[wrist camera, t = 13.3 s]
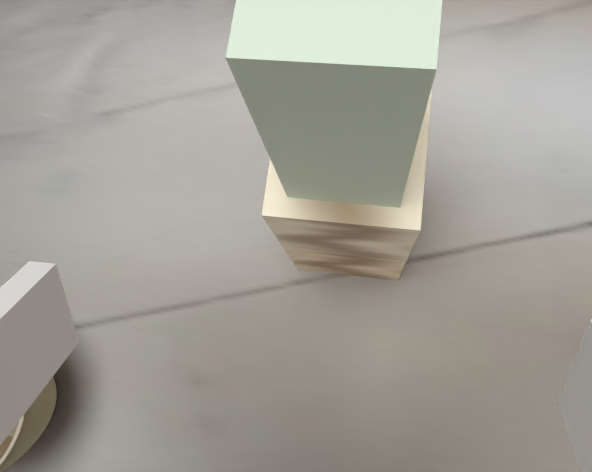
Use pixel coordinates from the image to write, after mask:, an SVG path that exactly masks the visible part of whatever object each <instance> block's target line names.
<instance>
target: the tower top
mask: <svg viewBox="0 0 592 472" xmlns="http://www.w3.org/2000/svg"><path fill="white" fill-rule="evenodd" d="M431 93H432V88H431V92H430V96H429V99H428V103H427V107H426V111H425V115H424V119H423V122H422V126H421V130H420V134H419V138H418V141H417V145H416V149H415V153H414V157H413V160H412V164H411V168H410V172H409V176H408V179H407V183H406V187H405V191H404V195H403V199H402V202H401V206H400V208H395V207H384V206H374V205H363V204H353V203H342V202H332V201H321V200H311V199H300V198H290V197H287V195H286V193H285V191H284V188H283V186H282V184H281V182H280V179H279V177H278V175H277V173H276V170H275V168H274V166H273V164H272V161H271V159H270V163H269V170H268V176H267V183H266V190H265V196H264V203H263V209H262V217H263V218H264V220H265V221H266V223H267V224H268V226H269V227H270V228H271V230H272V231H273V233H274V234H275V236H276V237H277V239H278V240H279V242H280V243H281V245H282V246H283V247H284V249H294V250H304V251H313V252H323V253H332V254H342V255H352V256H361V257H371V258H380V259H390V260H400V261H407V259H408V257H409V255H410V253H411V250H412V248H413V246H414V244H415V242H416V239H417V237H418V235H419V233H420V231H421V218H422V206H423V193H424V181H425V168H426V155H427V143H428V130H429V118H430V105H431Z"/></svg>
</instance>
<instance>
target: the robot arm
mask: <svg viewBox="0 0 592 472" xmlns="http://www.w3.org/2000/svg"><path fill="white" fill-rule="evenodd" d="M78 343H79V339H78V336H77V333H76V329H75V326H74V323H73V319H72V316H71V313H70V309H69V306H68V303H67V299H66V296H65V293H64V289H63V286H62V283H61V280H60V276H59V273H58V270H57V266H56V264H52V263H42V262H32V261H29V262H28V263H27V264H26V265H25V266H24V267H22V268H21V269H20V270H19V271H18V272H17V273H16V274H15V275H14V276H13V277H11V278H10V279H9V280H8V281H7V282H6V283H5V284H4V285H3V286H2V287H1V288H0V445H1V444H2V442H3V441H4V440H5V438H6V437H7V436H8V435H9V433H10V432H11V431H12V429H13V428H14V427H15V425H16V424H17V423H18V421H19V420H20V419H21V418H22V416H23V415H24V414H25V412H26V411H27V410H28V408H29V407H30V406H31V405H32V403H33V402H34V401H35V399H36V398H37V397H38V395H39V394H40V393H41V391H42V390H43V389H44V388H45V386H46V385H47V384H48V382H49V381H50V380H51V378H52V377H53V376H54V374H55V373H56V372H57V371H58V369H59V368H60V367H61V365H62V364H63V363H64V361H65V360H66V359H67V357H68V356H69V355H70V354H71V352H72V351H73V350H74V348H75V347H76V346H77V344H78ZM558 405H559V408H560V411H561V414H562V417H563V420H564V423H565V427H566V430H567V433H568V436H569V439H570V442H571V445H572V448H573V451H574V454H575V457H576V460H577V463H578V466H579V470H580V472H592V320H590V322H589V324H588V327H587V329H586V332H585V334H584V337H583V340H582V342H581V345H580V347H579V350H578V353H577V355H576V358H575V360H574V363H573V365H572V368H571V371H570V373H569V376H568V378H567V381H566V383H565V386H564V389H563V391H562V394H561V396H560V399H559V402H558Z"/></svg>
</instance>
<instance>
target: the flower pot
mask: <svg viewBox="0 0 592 472" xmlns="http://www.w3.org/2000/svg"><path fill="white" fill-rule="evenodd" d="M56 399H57V390H56V383H55V380H54V377H52V378H51V380H50V381H49V382H48V384H47V385H46V386H45V388H44V389H43V390H42V391H41V393H40V394H39V395H38V397H37V398H36V399H35V401H34V402H33V403H32V405H31V406H30V407H29V408H28V410H27V411H26V412H25V414H24V415H23V416H22V418H21V419H20V420H19V421H18V423H17V424H16V425H15V427H14V428H13V429H12V431H11V432H10V433H9V435H8V436H7V437H6V438H5V440H4V441H3V442H2V444H1V445H0V472H3V471H5V470H6V469H7V468H9V467H10V466H11V465H12V464H14V463H15V462H16V461H17V460H18V459H20V458H21V457H22V456H23V455H24V454H25V453H26V452H27V451H28V450H29V449H30V448H31V447H32V446H33V444H34V443H35V442H36V441H37V440H38V438H39V437H40V436H41V434H42V433H43V431H44V430H45V428H46V427H47V425H48V423H49V421H50V419H51V417H52V414H53V412H54V409H55V405H56Z"/></svg>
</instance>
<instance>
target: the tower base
mask: <svg viewBox="0 0 592 472" xmlns="http://www.w3.org/2000/svg"><path fill="white" fill-rule="evenodd" d="M285 250H286V252H287V253H288V255H289V256H290V258H291V259H292V261H293V262H294V264H295V265H296V266H297V268H298V269H302V270H311V271H320V272H329V273H338V274H347V275H356V276H365V277H374V278H383V279H392V280H398V279H399V277H400V274H401V272H402V270H403V268H404V265H405V263H406V261H400V260H390V259H380V258H371V257H361V256H352V255H342V254H332V253H323V252H313V251H304V250H294V249H285Z"/></svg>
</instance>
